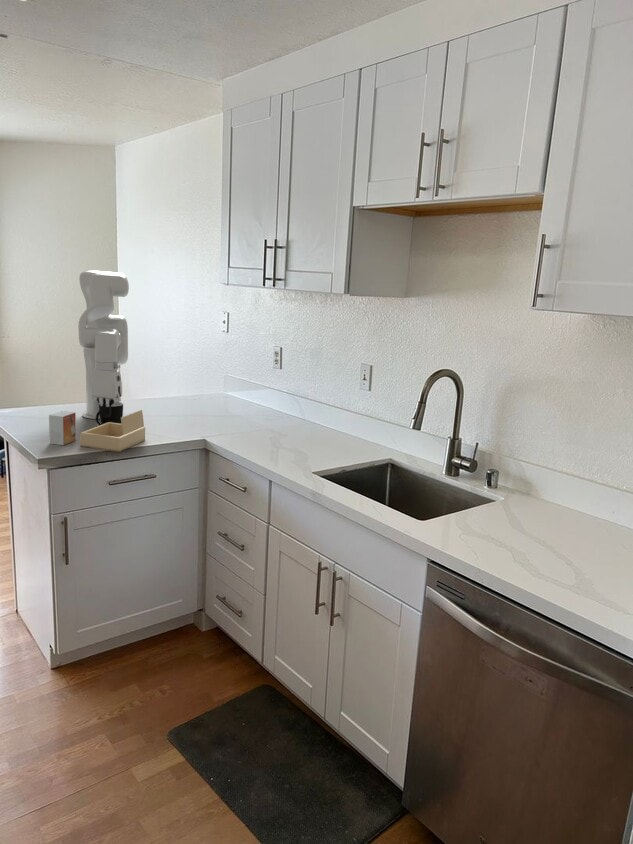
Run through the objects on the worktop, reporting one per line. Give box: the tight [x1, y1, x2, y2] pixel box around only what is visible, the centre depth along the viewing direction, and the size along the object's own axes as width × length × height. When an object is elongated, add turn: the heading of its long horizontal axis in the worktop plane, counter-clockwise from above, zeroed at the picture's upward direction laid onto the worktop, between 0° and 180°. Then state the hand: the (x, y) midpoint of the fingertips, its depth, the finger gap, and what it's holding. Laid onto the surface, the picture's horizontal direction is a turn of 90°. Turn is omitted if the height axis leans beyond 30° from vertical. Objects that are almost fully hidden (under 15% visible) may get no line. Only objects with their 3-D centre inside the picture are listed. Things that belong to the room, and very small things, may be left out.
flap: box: [121, 409, 145, 435], centre depth 222 cm, size 14×6×1 cm
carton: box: [79, 422, 146, 453], centre depth 225 cm, size 18×15×5 cm
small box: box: [48, 410, 77, 446], centre depth 221 cm, size 8×6×10 cm
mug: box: [95, 401, 124, 426], centre depth 242 cm, size 12×9×10 cm
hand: (106, 416), depth 224 cm, fingers closed
